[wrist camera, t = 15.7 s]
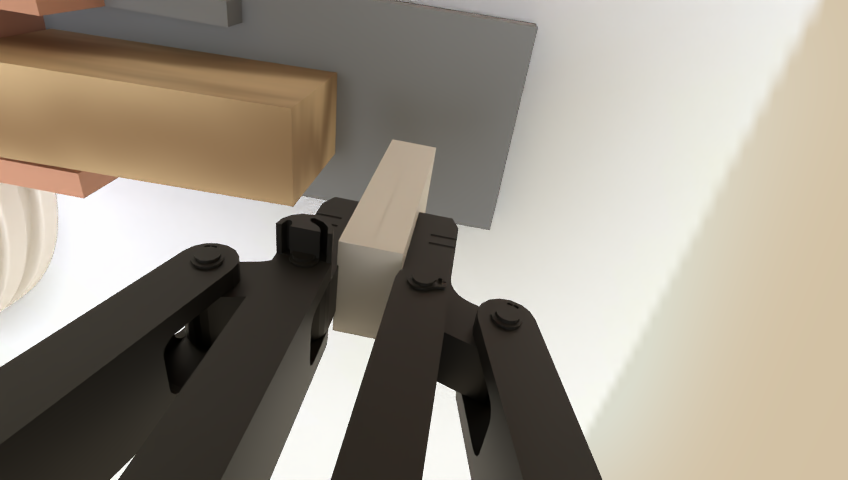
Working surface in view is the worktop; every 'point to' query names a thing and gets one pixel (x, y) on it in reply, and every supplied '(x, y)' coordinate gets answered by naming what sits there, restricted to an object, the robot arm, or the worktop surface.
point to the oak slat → (166, 114)
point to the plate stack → (25, 239)
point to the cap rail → (356, 81)
